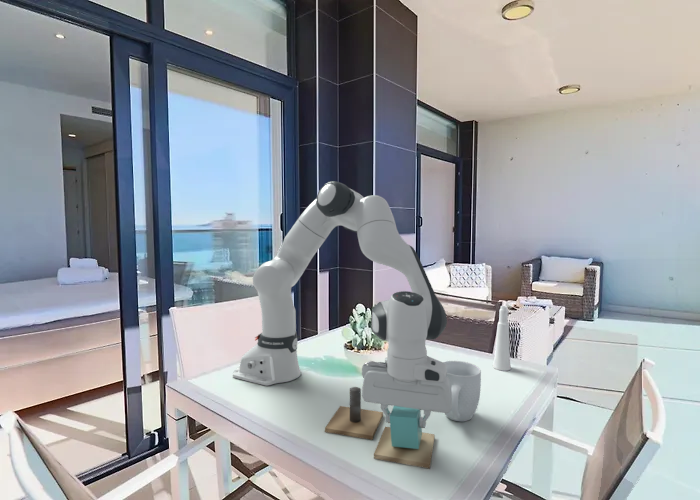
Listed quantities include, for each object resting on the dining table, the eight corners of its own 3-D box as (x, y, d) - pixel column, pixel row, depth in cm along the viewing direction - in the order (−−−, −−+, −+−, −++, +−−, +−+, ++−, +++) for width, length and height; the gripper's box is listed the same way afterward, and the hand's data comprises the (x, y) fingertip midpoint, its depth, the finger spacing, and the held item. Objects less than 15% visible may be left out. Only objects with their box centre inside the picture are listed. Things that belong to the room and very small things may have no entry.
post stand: (324, 431, 97) (324, 396, 96) (340, 409, 108) (340, 377, 107) (372, 439, 93) (372, 403, 93) (383, 415, 105) (383, 382, 104)
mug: (477, 437, 94) (478, 384, 93) (431, 428, 98) (432, 377, 97) (480, 410, 108) (482, 363, 107) (440, 403, 112) (441, 358, 111)
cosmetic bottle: (488, 366, 140) (490, 305, 139) (501, 363, 143) (503, 303, 142) (502, 372, 135) (504, 309, 133) (514, 369, 138) (517, 307, 136)
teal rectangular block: (391, 446, 88) (389, 416, 88) (396, 432, 94) (394, 403, 93) (418, 449, 86) (416, 418, 86) (422, 434, 92) (420, 405, 92)
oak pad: (373, 458, 86) (373, 454, 86) (385, 430, 97) (385, 426, 97) (429, 468, 83) (429, 464, 82) (434, 438, 94) (434, 434, 94)
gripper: (358, 364, 89) (358, 424, 90) (452, 375, 83) (450, 439, 84) (365, 355, 95) (365, 411, 96) (453, 365, 89) (451, 424, 90)
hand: (405, 424), depth 90 cm, fingers closed on teal rectangular block, 6 cm apart
